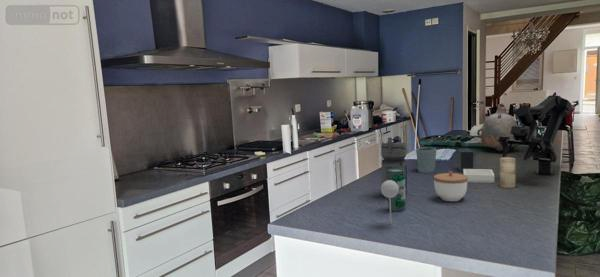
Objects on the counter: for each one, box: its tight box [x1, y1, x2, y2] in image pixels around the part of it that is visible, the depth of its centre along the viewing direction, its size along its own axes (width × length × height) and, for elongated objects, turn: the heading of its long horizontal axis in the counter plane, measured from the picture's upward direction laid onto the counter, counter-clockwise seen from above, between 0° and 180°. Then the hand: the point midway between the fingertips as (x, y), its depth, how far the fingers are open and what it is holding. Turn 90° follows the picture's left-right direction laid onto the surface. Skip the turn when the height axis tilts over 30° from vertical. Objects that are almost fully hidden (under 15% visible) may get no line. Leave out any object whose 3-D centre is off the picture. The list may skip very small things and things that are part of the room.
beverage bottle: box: [380, 135, 408, 196], centre depth 174 cm, size 10×13×25 cm
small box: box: [457, 148, 474, 173], centre depth 214 cm, size 11×6×10 cm, turn 168°
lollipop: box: [380, 180, 399, 225], centre depth 139 cm, size 6×6×15 cm
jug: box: [476, 102, 519, 152], centre depth 259 cm, size 24×21×30 cm
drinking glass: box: [415, 146, 437, 174], centre depth 216 cm, size 10×10×12 cm
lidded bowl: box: [433, 171, 468, 202], centre depth 164 cm, size 13×13×11 cm
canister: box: [499, 156, 517, 189], centre depth 179 cm, size 6×6×12 cm
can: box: [387, 168, 407, 212], centre depth 155 cm, size 6×6×15 cm
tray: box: [462, 168, 495, 184], centre depth 193 cm, size 13×13×4 cm
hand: (513, 158), depth 181 cm, fingers open, 9 cm apart
